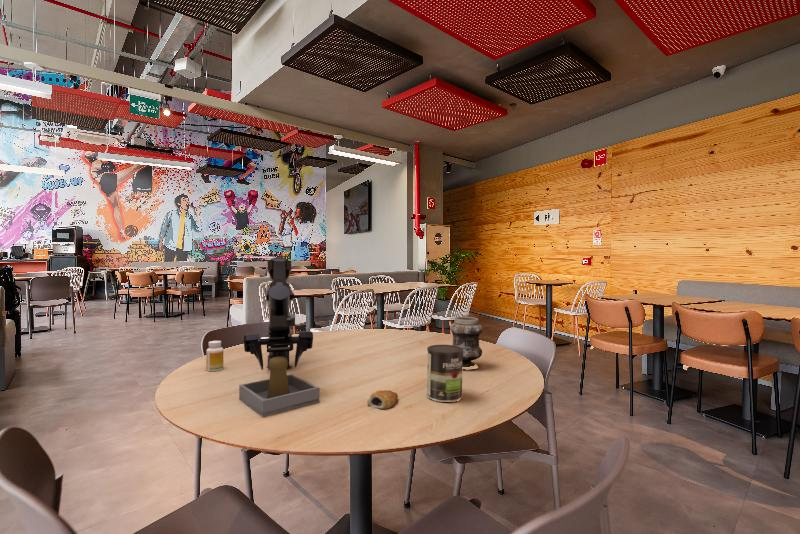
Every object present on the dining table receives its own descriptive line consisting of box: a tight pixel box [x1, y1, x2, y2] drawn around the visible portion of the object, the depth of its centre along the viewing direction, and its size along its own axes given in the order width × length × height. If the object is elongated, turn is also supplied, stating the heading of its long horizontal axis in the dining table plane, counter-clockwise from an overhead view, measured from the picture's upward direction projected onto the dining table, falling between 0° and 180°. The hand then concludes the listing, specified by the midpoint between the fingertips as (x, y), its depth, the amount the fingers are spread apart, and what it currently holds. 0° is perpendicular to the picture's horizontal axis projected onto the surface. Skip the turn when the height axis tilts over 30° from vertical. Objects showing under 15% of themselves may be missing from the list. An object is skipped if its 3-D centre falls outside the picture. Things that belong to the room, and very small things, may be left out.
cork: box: [267, 356, 290, 399], centre depth 112 cm, size 6×6×11 cm
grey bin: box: [238, 373, 320, 418], centre depth 112 cm, size 16×16×4 cm
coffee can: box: [426, 344, 463, 403], centre depth 117 cm, size 10×10×14 cm
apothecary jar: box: [449, 316, 484, 367], centre depth 148 cm, size 12×12×18 cm
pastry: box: [366, 389, 399, 410], centre depth 111 cm, size 9×7×4 cm
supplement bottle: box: [205, 340, 224, 372], centre depth 141 cm, size 5×5×10 cm
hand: (279, 367), depth 111 cm, fingers open, 8 cm apart
